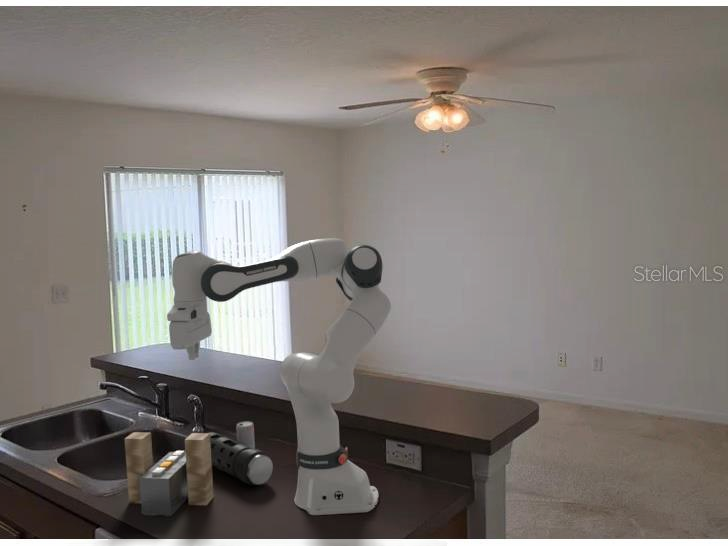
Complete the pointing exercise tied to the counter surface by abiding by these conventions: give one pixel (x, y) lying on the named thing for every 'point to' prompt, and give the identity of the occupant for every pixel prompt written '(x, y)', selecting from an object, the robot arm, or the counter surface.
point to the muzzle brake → (240, 460)
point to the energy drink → (246, 433)
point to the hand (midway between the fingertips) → (193, 358)
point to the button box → (165, 485)
